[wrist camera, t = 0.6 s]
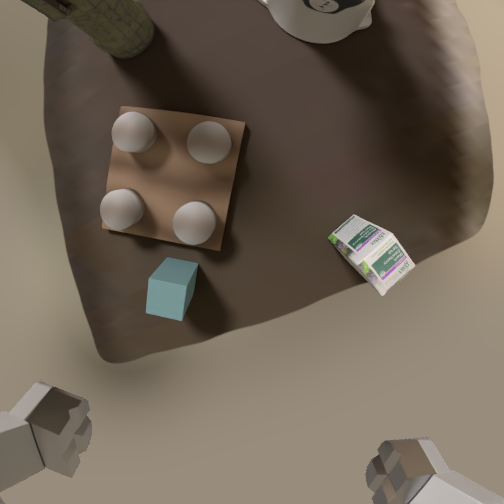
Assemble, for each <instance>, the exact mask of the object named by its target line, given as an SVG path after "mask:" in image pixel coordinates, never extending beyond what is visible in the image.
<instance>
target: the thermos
mask: <svg viewBox="0 0 504 504" xmlns="http://www.w3.org/2000/svg"><path fill="white" fill-rule="evenodd" d="M21 1H23V2H25V3H27V4H28V5H30V6H31V7H33V8H35V9H36V10H38V11H39V12H41V13H42V14H44V15H46V16H47V17H48V18H50V19H51V20H53V21H56V20H59V19H62V18H63V19H68V20H69V21H71V22H72V23H73V24H75V25H76V26H77V27H79V28H80V29H82V30H83V31H84V32H86V33H87V34H88V35H89V36H90V40H91V41H92V42H93V43H94V44H95V45H97V46H98V47H99V48H101V49H102V50H103V51H105V52H107V53H109V54H111V55H112V56H114V57H116V58H121V59H127V58H130V57H134V56H136V55H138V54H140V53H141V52H143V51H144V50H145V49H146V48H147V47H148V46H149V44H150V43H151V41H152V40H153V37H154V33H155V26H154V24H153V22H152V20H151V18H150V16H149V14H148V12H147V11H146V10H145V8H144V7H143V5H142V4H141V3H140V2H139V1H138V0H21Z"/></svg>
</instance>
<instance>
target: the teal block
mask: <svg viewBox="0 0 504 504" xmlns="http://www.w3.org/2000/svg"><path fill="white" fill-rule="evenodd" d="M197 269H198V263H193V262H188V261H183V260H178V259H173V258H168V257H167V258H166V259H165V260H164V262H163V263H162V264H161V265H160V266H159V267H158V268H157V270H156V271H155V272H154V273H153V274H152V275H151V276H150V278H149V283H148V294H147V306H146V313H149V314H153V315H157V316H162V317H166V318H171V319H176V320H180V321H182V320H183V317H184V315H185V313H186V310H187V308H188V306H189V303H190V301H191V298H192V296H193V294H194V288H195V282H196V275H197Z"/></svg>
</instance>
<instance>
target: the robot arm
mask: <svg viewBox="0 0 504 504" xmlns="http://www.w3.org/2000/svg"><path fill="white" fill-rule="evenodd" d="M258 1H259V2H260V3H261V4H263V5H264V6H266V7H267V8H268V9H269V11H270V12H271V14H272V16H273V18H274V20H275V21H276V22H277V23H278V25H279V26H280V27H281V28H282V29H284V30H285V31H286V32H288V33H289V34H291V35H292V36H294V37H296V38H299V39H301V40H304V41H308V42H312V43H332V42H336V41H339V40H342V39H344V38H345V37H347V36H348V35H350V34H351V33H352V32H354V31H355V30H360V29H365V28H368V27H369V26H370V25H371V23H372V18H371V9H372V7H373V6H374V3H375V0H258ZM89 410H90V409H89V404H88V401H87V400H86V399H84V398H82V397H79V396H77V395H74V394H71V393H69V392H66V391H64V390H61V389H59V388H56V387H53V386H51V385H48V384H46V383H44V382H41V381H39V382H36V383H35V384H34V385H33V386H32V387H31V388H30V390H29V391H28V392H27V393H26V394H25V395H24V397H22V399H21V400H20V401H19V402H18V403H17V404H16V405H15V407H14V408H13V409H12V410H11V411H10V412H9V413H8V412H6V411H3V412H0V492H1V491H3V490H5V489H7V488H9V487H11V486H13V485H15V484H17V483H19V482H21V481H23V480H25V479H27V478H28V477H30V476H32V475H34V474H36V473H38V472H40V471H41V470H43V469H45V468H44V467H46V468H48V469H51V470H53V471H55V472H58V473H60V474H63V475H66V476H68V477H71V478H72V477H73V475H74V473H75V471H76V469H77V467H78V465H79V463H80V459H79V454H80V453H82V452H84V451H86V449H87V447H88V445H89V443H90V439H91V435H92V424H91V420H90V419H89V418H88V417H87V413H88V412H89ZM378 452H379V455H377V456H376V457H374V458H373V459H371V461H370V463H369V464H368V466H367V470H366V482H367V485H368V488H370V489H371V490H372V491H374V492H375V493H374V495H373V497H372V500H373V503H374V504H504V498H502V497H501V496H499V495H496V494H495V493H493V492H491V491H489V490H487V489H486V488H484V487H482V486H480V485H479V484H477V483H475V482H473V481H471V480H470V479H468V478H466V477H465V476H463V475H461V474H459V473H458V472H456V471H454V470H453V471H450V469H449V468H448V466H447V465H446V463H445V461H444V460H443V458H442V456H441V455H440V453H439V452H438V450H437V448H436V447H435V445H434V443H433V442H432V440H431V439H430V438H428V437H422V438H413V439H401V440H388V441H384V442H383V443H381V445H380V447H379V448H378ZM0 504H5V503H4V502H3V500H2V499H1V497H0Z"/></svg>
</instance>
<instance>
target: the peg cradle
mask: <svg viewBox="0 0 504 504" xmlns="http://www.w3.org/2000/svg"><path fill="white" fill-rule="evenodd" d="M244 128H245V122H241V121H235V120H229V119H223V118H217V117H211V116H205V115H198V114H191V113H183V112H175V111H167V110H158V109H149V108H138V107H126V106H121V108H120V113H119V117H118V119H117V120H116V122H115V123H114V125H113V128H112V139H113V142H114V143H113V148H112V154H111V160H110V166H109V173H108V180H107V187H106V195H105V197H104V198H103V200H102V202H101V206H100V213H101V217H102V219H103V221H102V228H104V229H109V230H114V231H120V232H125V233H130V234H135V235H140V236H145V237H150V238H155V239H160V240H165V241H170V242H176V243H181V244H186V245H191V246H196V247H201V248H206V249H211V250H217V251H220V249H221V245H222V239H223V234H224V228H225V223H226V218H227V213H228V207H229V202H230V197H231V192H232V187H233V182H234V177H235V172H236V167H237V162H238V157H239V152H240V147H241V142H242V138H243V133H244Z"/></svg>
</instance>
